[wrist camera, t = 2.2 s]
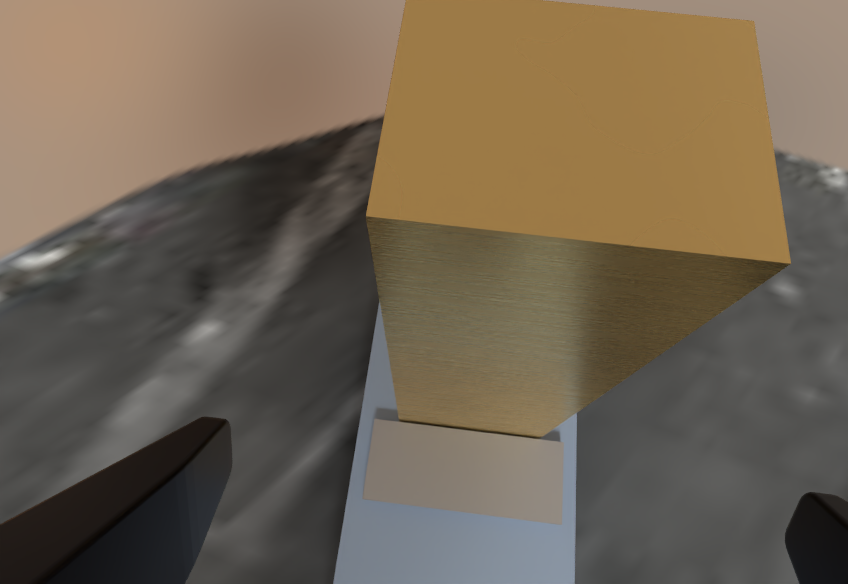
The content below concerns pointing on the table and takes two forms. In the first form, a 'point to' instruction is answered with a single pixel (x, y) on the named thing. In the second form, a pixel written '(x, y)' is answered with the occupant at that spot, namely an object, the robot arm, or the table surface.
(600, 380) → the tan tall block
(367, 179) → the table surface
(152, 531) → the robot arm
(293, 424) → the table surface
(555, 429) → the plane body
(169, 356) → the table surface
